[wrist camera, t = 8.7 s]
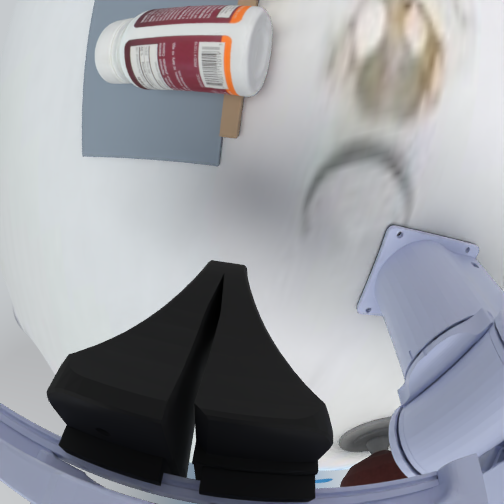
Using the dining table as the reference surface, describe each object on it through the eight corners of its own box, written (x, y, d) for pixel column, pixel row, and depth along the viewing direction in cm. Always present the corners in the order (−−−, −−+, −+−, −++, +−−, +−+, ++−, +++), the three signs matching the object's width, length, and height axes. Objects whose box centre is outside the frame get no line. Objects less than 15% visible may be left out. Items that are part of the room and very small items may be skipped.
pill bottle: (278, 35, 13) (148, 33, 14) (264, -12, 8) (107, 2, 9) (259, 109, 14) (128, 97, 15) (237, 79, 10) (78, 79, 11)
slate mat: (264, -36, 11) (264, -43, 10) (234, 166, 18) (232, 170, 17) (104, -24, 11) (96, -28, 10) (86, 154, 18) (77, 158, 17)
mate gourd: (424, 429, 37) (442, 527, 20) (352, 455, 42) (358, 549, 24) (405, 399, 31) (431, 535, 14) (313, 433, 36) (315, 557, 19)
